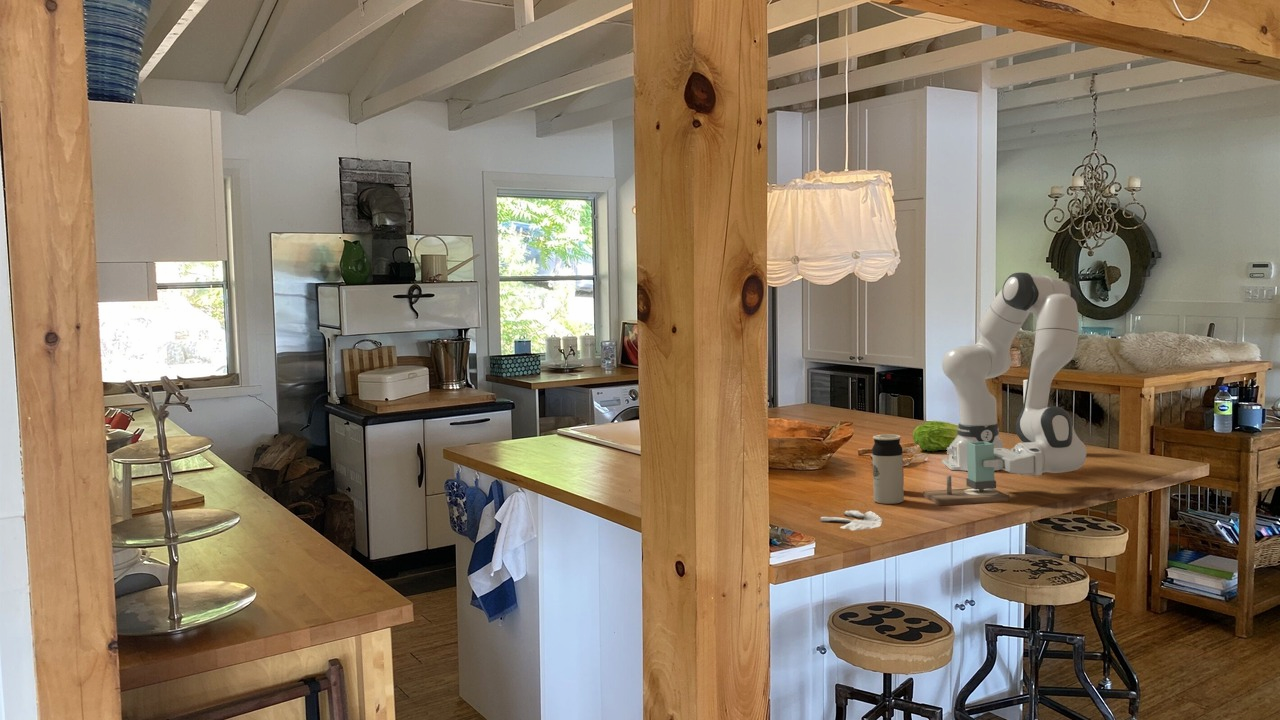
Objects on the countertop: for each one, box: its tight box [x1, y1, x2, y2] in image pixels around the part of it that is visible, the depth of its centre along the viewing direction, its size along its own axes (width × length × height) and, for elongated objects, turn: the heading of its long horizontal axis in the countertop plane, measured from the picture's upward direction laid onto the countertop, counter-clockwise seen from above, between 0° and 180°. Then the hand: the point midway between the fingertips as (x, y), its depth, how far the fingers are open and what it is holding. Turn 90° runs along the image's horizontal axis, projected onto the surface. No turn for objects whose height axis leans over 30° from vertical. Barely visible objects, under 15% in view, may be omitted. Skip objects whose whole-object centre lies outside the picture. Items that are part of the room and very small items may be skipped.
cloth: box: [819, 509, 884, 531], centre depth 252 cm, size 20×22×2 cm
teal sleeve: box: [965, 441, 997, 490], centre depth 269 cm, size 6×6×12 cm
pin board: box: [923, 475, 1010, 506], centre depth 269 cm, size 12×19×6 cm, turn 95°
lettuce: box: [912, 420, 959, 452], centre depth 349 cm, size 12×24×13 cm
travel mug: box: [871, 434, 905, 505], centre depth 270 cm, size 8×8×18 cm
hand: (977, 461), depth 269 cm, fingers closed on teal sleeve, 5 cm apart
